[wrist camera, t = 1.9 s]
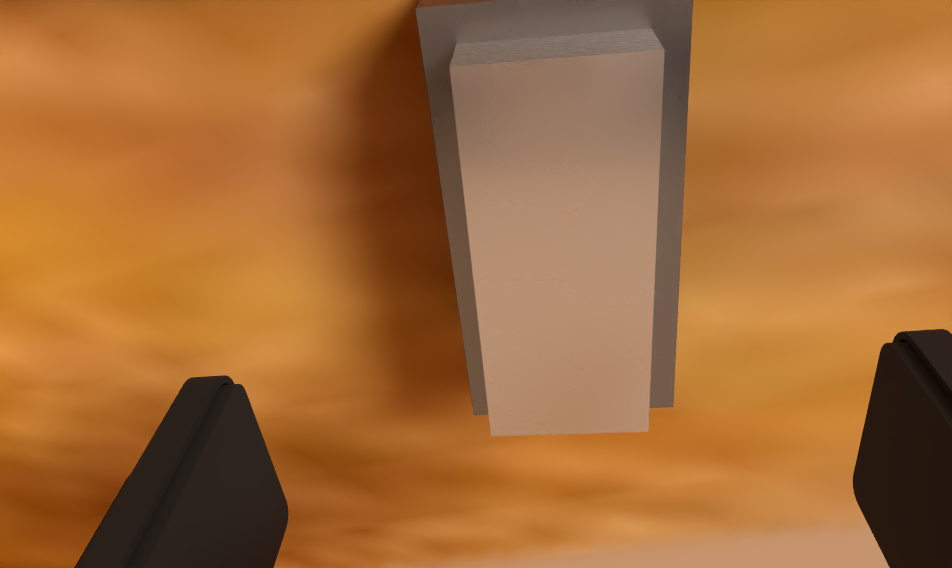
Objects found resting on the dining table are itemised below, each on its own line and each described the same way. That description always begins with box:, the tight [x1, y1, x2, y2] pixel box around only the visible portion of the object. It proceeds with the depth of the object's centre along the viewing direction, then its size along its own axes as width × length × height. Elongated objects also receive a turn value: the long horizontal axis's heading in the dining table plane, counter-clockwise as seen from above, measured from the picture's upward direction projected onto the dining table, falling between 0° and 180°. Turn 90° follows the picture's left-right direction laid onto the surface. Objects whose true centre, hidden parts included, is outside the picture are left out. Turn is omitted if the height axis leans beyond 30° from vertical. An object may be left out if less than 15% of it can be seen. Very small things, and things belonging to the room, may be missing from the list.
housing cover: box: [450, 28, 665, 436], centre depth 15 cm, size 4×9×2 cm, turn 5°
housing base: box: [415, 0, 693, 415], centre depth 18 cm, size 5×10×4 cm, turn 6°
